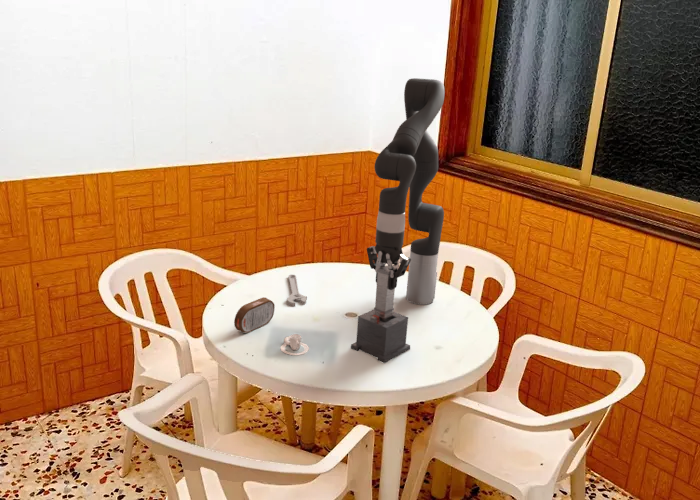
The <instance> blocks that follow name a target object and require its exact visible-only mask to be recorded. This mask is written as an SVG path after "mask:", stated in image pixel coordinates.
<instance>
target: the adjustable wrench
mask: <svg viewBox="0 0 700 500" xmlns="http://www.w3.org/2000/svg"><path fill="white" fill-rule="evenodd" d="M297 280H298V279H297V275H295V274H289V275H288V282H290V283H289V288H290V287H291V288H290V291H291V294H290V295H289V296H288V297H287V299H286V304H287V305H288V306H290V307H296V303H298V302H299V303H300V304H301V305H302V306H305V305H306V303H307V300H308V297H307V296H306V295H302V294H301V293H300V292H299V286H298V281H297Z"/></svg>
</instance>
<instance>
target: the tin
mask: <svg viewBox="0 0 700 500" xmlns="http://www.w3.org/2000/svg"><path fill="white" fill-rule="evenodd" d="M275 307H276V306H275V302H273V300H270V299H268V298H267V297H260V298H258V299H256V300H253V301H250V302H248V303H246V304H244V305H242V306H240V308H239V309H238V311H237V312H236V314H235V316H234V322H233V323H234V327H235V329H236V331H239V332H242V333H243V334H248V333H252V332H253V331H255V330H257V329H259V328H261V327H264V326H266V325H268V324H269V323H270V321H271V320H272V319H273V317H274V314H275Z"/></svg>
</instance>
